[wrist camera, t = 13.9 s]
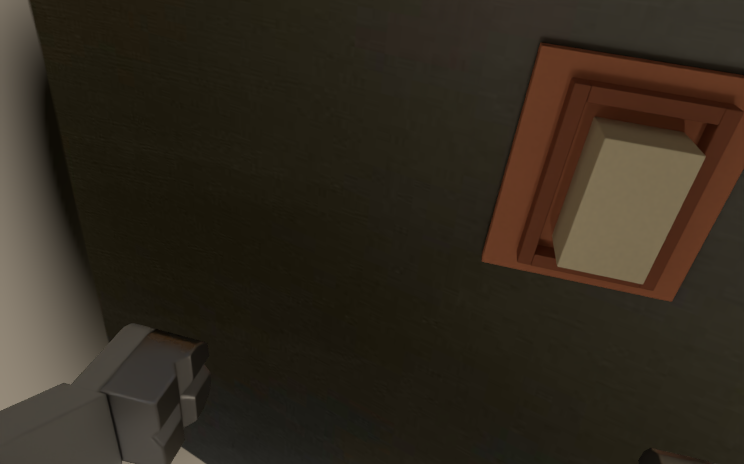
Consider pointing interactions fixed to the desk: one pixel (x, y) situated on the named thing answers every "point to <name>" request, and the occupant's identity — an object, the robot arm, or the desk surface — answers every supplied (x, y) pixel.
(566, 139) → the base pad
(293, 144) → the desk surface
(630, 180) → the top pad
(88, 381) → the robot arm
